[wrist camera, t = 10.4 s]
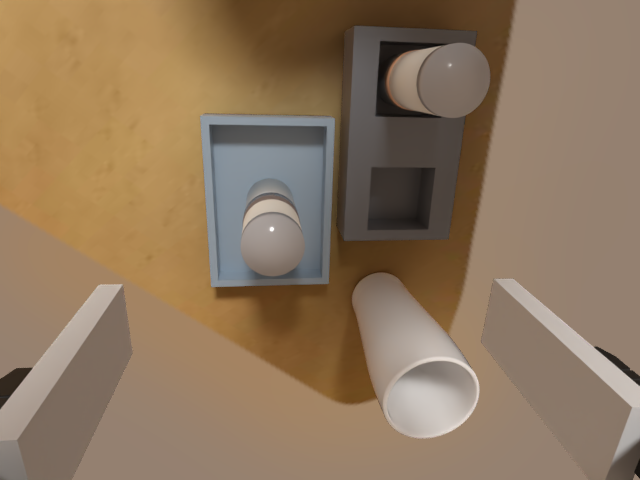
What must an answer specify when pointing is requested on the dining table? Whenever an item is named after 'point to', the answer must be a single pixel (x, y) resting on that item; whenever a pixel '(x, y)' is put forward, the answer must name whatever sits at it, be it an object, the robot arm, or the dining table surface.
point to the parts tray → (262, 163)
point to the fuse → (436, 80)
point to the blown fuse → (271, 229)
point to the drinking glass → (412, 360)
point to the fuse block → (394, 145)
